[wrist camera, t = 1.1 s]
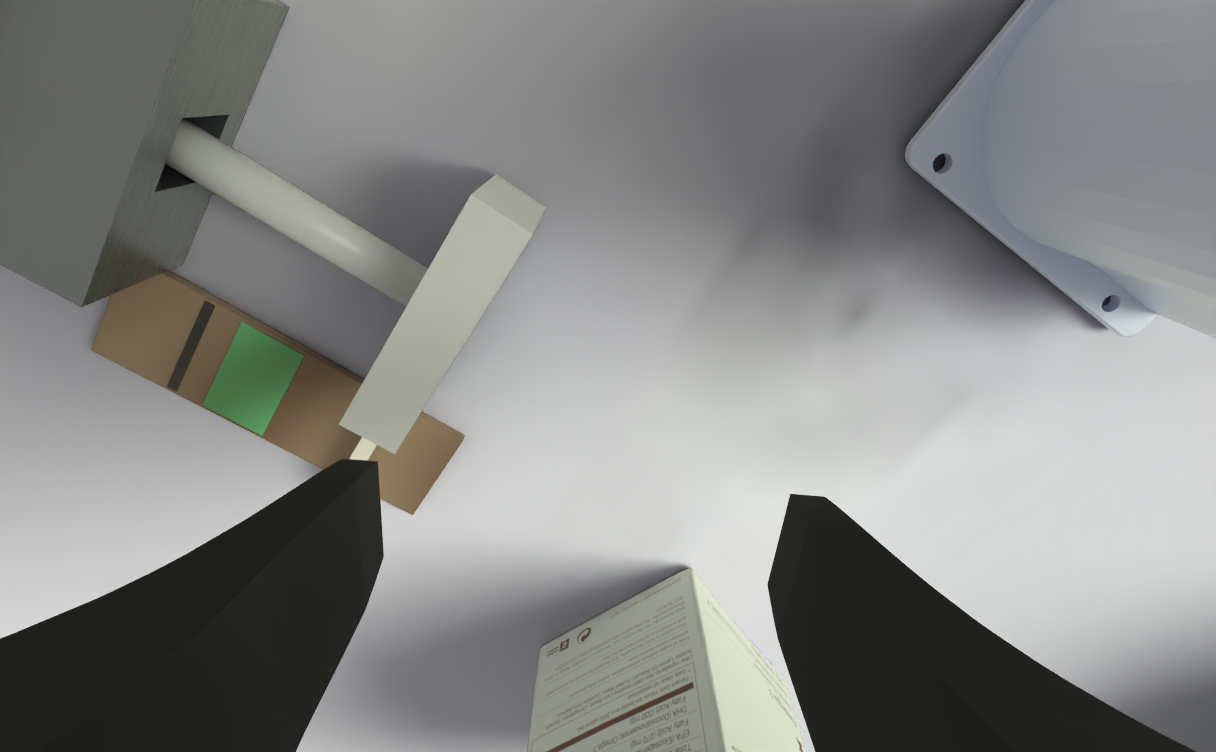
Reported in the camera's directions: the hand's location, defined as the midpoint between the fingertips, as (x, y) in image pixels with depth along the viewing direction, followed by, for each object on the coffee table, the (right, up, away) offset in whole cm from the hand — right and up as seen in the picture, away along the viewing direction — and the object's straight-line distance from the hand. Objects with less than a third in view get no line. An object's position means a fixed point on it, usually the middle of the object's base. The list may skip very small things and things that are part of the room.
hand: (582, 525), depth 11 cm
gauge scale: (-10, +2, +9) cm, 14 cm away
